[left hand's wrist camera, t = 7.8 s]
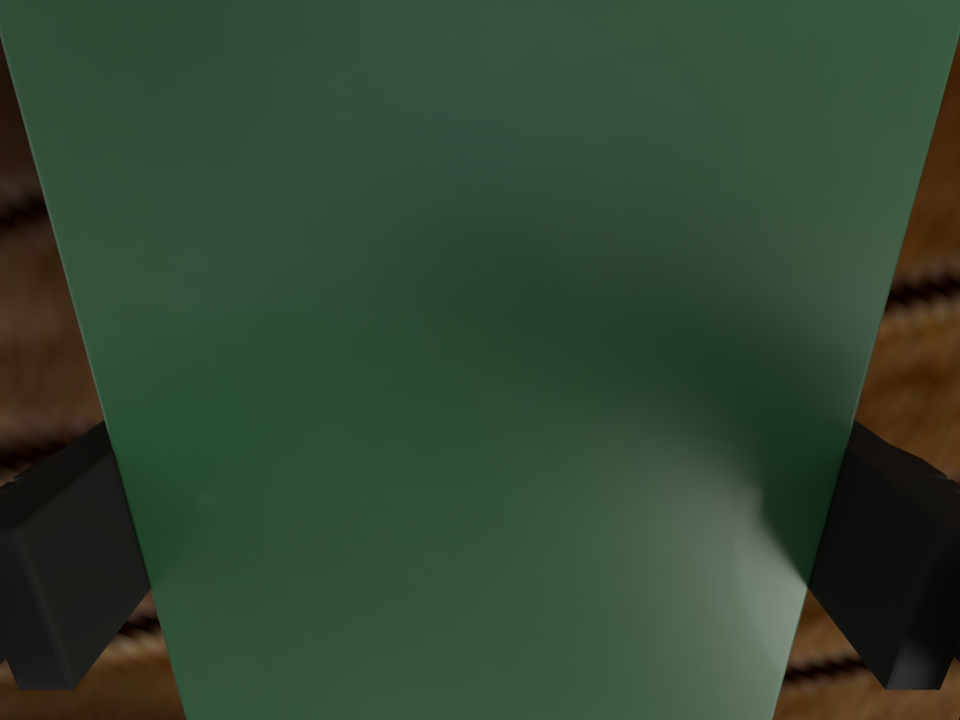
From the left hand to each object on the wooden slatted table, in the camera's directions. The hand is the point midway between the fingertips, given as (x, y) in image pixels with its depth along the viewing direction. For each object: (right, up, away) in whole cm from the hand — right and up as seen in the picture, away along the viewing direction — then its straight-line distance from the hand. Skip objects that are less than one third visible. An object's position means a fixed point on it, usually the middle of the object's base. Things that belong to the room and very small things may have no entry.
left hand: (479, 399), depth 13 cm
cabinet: (0, +7, +4) cm, 8 cm away
